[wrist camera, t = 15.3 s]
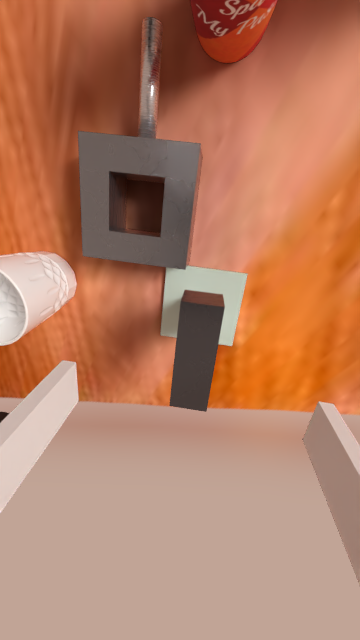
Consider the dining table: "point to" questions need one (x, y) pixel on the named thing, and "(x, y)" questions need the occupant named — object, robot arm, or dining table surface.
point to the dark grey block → (196, 348)
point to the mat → (204, 282)
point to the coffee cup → (231, 26)
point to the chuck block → (139, 178)
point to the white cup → (31, 291)
